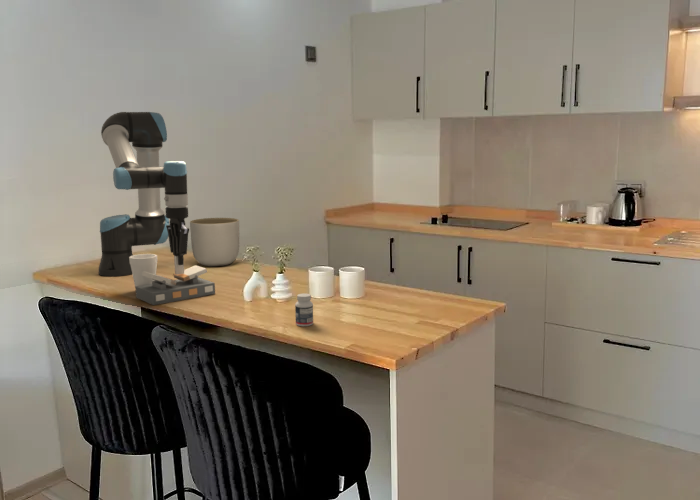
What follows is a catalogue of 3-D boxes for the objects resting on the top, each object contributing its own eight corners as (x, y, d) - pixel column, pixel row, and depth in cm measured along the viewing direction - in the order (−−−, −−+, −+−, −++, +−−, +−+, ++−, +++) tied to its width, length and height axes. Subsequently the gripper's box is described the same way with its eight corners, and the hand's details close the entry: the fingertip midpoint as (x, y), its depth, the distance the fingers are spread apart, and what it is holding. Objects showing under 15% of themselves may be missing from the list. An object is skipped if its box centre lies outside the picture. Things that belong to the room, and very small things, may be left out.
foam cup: (162, 292, 233) (159, 257, 230) (135, 296, 228) (133, 259, 226) (155, 287, 241) (152, 253, 238) (129, 290, 236) (126, 255, 234)
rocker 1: (141, 276, 223) (142, 270, 223) (164, 282, 229) (166, 277, 229) (151, 280, 217) (153, 274, 217) (175, 286, 223) (177, 281, 223)
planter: (235, 268, 274) (234, 223, 270) (186, 268, 274) (184, 224, 271) (244, 259, 294) (242, 217, 291) (198, 259, 294) (196, 217, 291)
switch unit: (136, 297, 226) (135, 281, 225) (196, 287, 241) (195, 272, 240) (153, 305, 215) (152, 288, 214) (215, 294, 230) (214, 278, 229)
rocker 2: (174, 279, 232) (172, 274, 231) (196, 270, 237) (195, 265, 236) (185, 283, 225) (183, 277, 225) (207, 273, 231) (206, 268, 230)
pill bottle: (295, 321, 195) (295, 293, 194) (313, 321, 196) (312, 292, 194) (295, 326, 190) (295, 297, 189) (313, 326, 191) (313, 296, 189)
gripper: (158, 205, 227) (161, 272, 230) (175, 208, 217) (177, 278, 220) (178, 204, 231) (180, 269, 235) (195, 207, 221) (198, 275, 225)
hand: (179, 273), depth 228 cm, fingers closed
